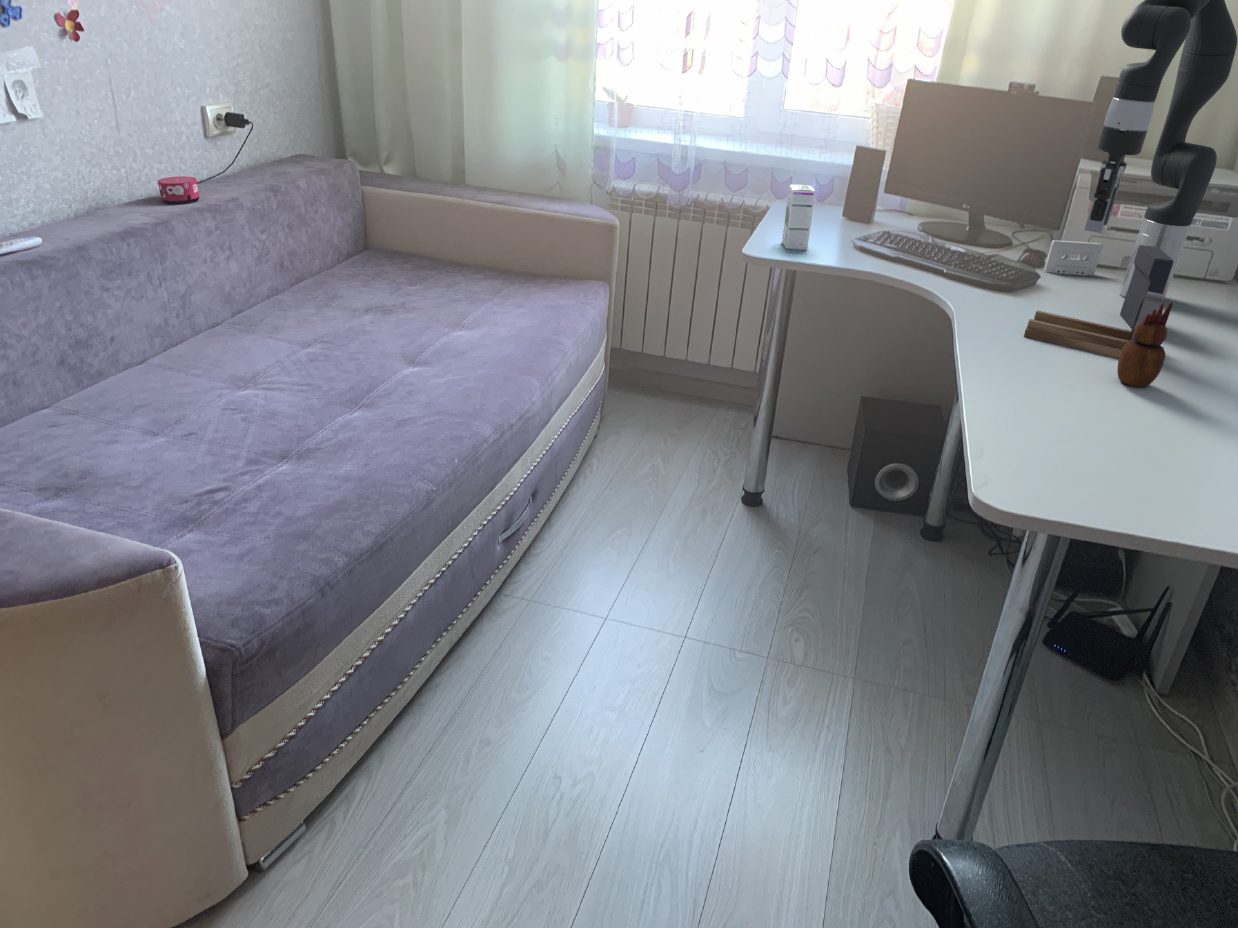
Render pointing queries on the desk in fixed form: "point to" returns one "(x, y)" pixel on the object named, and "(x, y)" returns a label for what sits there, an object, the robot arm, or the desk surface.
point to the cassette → (1073, 266)
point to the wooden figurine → (1144, 350)
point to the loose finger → (1100, 225)
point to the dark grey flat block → (1146, 279)
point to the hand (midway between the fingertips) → (1097, 218)
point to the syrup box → (798, 217)
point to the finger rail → (1089, 329)
